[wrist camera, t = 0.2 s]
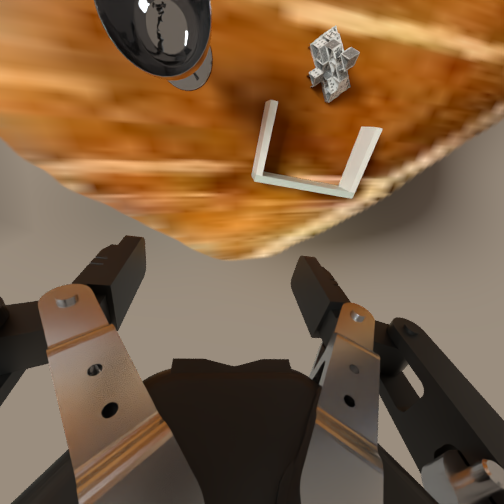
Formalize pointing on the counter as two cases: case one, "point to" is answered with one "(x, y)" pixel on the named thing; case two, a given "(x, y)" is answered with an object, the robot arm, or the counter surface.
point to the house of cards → (331, 64)
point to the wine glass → (162, 37)
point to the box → (345, 188)
